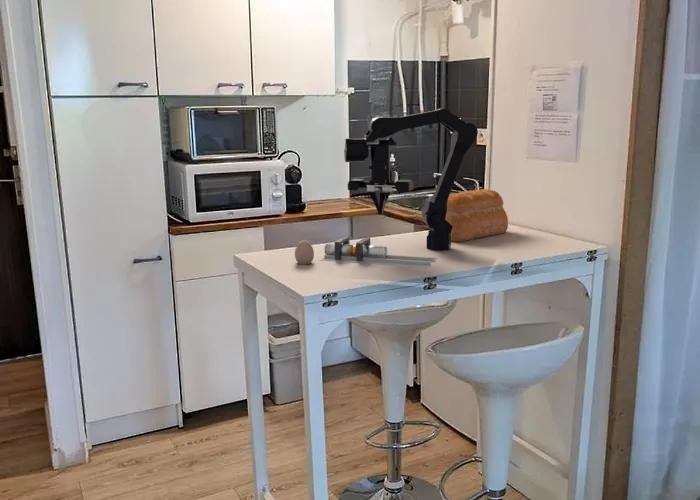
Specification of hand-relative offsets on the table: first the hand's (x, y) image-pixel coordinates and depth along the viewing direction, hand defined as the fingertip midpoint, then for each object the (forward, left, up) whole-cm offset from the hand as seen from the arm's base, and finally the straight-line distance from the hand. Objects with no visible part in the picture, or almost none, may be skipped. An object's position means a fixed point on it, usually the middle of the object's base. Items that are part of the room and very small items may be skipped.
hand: (380, 214), depth 195 cm
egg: (+16, +20, -12) cm, 28 cm away
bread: (-21, -35, -12) cm, 42 cm away
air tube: (+5, +10, -11) cm, 16 cm away
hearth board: (-2, +10, -12) cm, 16 cm away
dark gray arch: (+2, +10, -11) cm, 15 cm away
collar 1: (+9, +10, -11) cm, 17 cm away
